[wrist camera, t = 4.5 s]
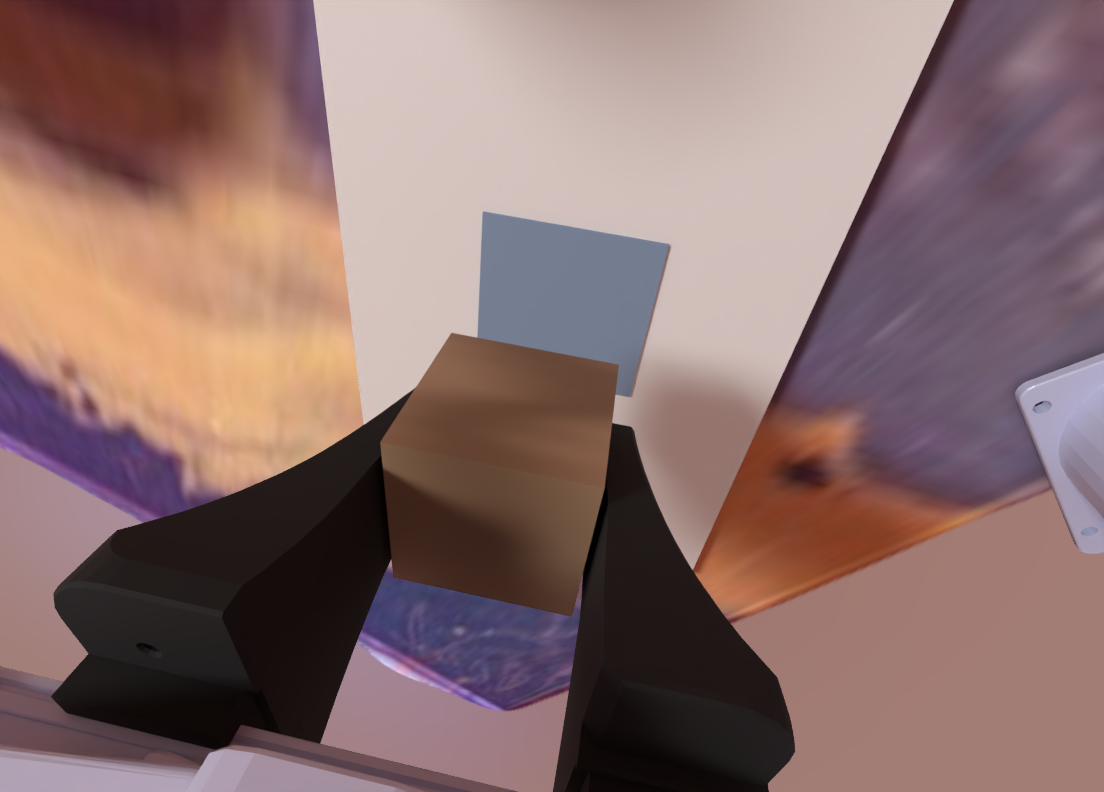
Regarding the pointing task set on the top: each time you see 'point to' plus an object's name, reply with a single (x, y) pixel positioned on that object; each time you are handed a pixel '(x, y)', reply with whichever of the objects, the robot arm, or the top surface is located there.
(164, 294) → the top surface
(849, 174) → the white flat panel
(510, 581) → the walnut block
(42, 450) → the top surface
